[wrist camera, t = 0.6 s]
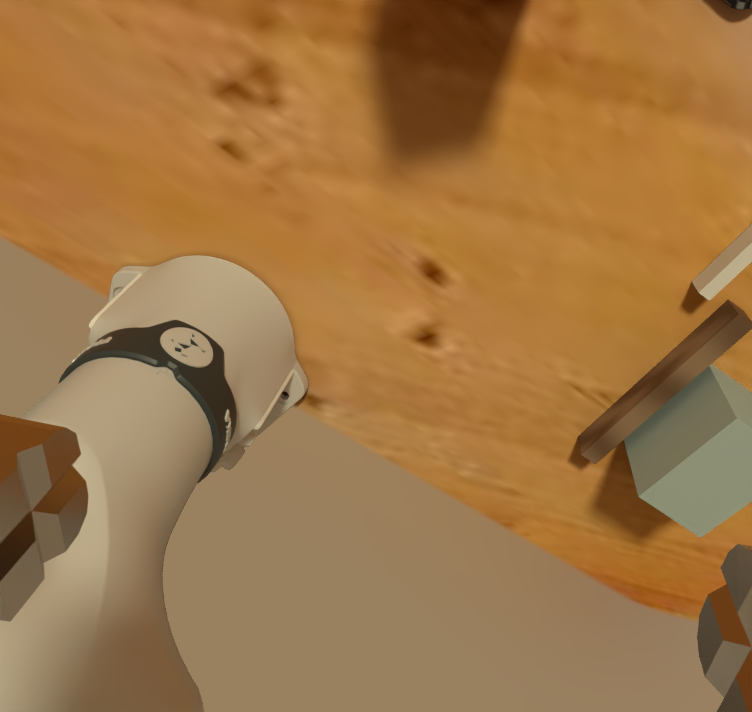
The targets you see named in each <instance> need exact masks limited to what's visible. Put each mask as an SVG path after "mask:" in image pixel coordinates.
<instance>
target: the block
mask: <svg viewBox="0 0 752 712" xmlns="http://www.w3.org/2000/svg"><path fill="white" fill-rule="evenodd" d="M624 443H625V447H626V451H627V455H628V459H629V463H630V466H631V470H632V474H633V478H634V482H635V486H636V490H637V494H638V497H639V498H641V499H642V500H644V501H645V502H647V503H649V504H650V505H652V506H653V507H655V508H656V509H658V510H659V511H661V512H662V513H664V514H665V515H667V516H668V517H670V518H671V519H673V520H674V521H676V522H677V523H679V524H680V525H682V526H683V527H685V528H686V529H688V530H689V531H691V532H692V533H694V534H696V535H697V536H699V537H700V538H701V537H702V536H704V535H705V534H706V533H708V532H709V531H711V530H712V529H713V528H715V527H716V526H718V525H719V524H721V523H722V522H723V521H725V520H726V519H728V518H729V517H730V516H732V515H733V514H735V513H736V512H737V511H739V510H740V509H742V508H743V507H745V506H746V505H747V504H749V503H750V502H752V392H750V391H749V390H748V389H746V388H745V387H743V386H742V385H741V384H739V383H738V382H736V381H735V380H734V379H732V378H731V377H729V376H728V375H727V374H725V373H724V372H722V371H721V370H720V369H718V368H717V367H715V366H714V365H712V364H711V365H709V366H708V367H707V368H706V369H705V370H704V371H702V372H701V373H700V374H699V375H698V376H697V377H696V378H694V379H693V380H692V381H691V382H690V383H689V384H687V385H686V386H685V387H684V388H683V389H682V390H681V391H679V392H678V393H677V394H676V395H675V396H674V397H672V398H671V399H670V400H669V401H668V402H667V403H666V404H664V405H663V406H662V407H661V408H660V409H659V410H657V411H656V412H655V413H654V414H653V415H652V416H651V417H649V418H648V419H647V420H646V421H645V422H644V423H642V424H641V425H640V426H639V427H638V428H637V429H636V430H634V431H633V432H632V433H631V434H630V435H629V436H627V437H626V438H625V439H624Z"/></svg>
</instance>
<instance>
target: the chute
mask: <svg viewBox="0 0 752 712" xmlns="http://www.w3.org/2000/svg"><path fill="white" fill-rule="evenodd" d="M751 329H752V322H751V320H750V319H749V317H748V316H747V315H746V313H745V312H744V311H743V310H742V309H741V308H739V307H738V306H736V305H735V304H734V303H732V302H731V301H730V300H727V301H726V302H725V303H724V304H723V305H722V306H721V307H720V308H718V309H717V310H716V311H715V312H714V313H713V314H712V315H711V316H710V317H709V318H708V319H706V320H705V321H704V322H703V323H702V324H701V325H700V326H699V327H698V328H697V329H696V330H694V331H693V332H692V333H691V334H690V335H689V336H688V337H687V338H686V339H685V340H683V341H682V342H681V343H680V344H679V345H678V346H677V347H676V348H675V349H674V350H673V351H671V352H670V353H669V354H668V355H667V356H666V357H665V358H664V359H663V360H662V361H660V362H659V363H658V364H657V365H656V366H655V367H654V368H653V369H652V370H651V371H650V372H648V373H647V374H646V375H645V376H644V377H643V378H642V379H641V380H640V381H639V382H638V383H636V384H635V385H634V386H633V387H632V388H631V389H630V390H629V391H628V392H627V393H625V394H624V395H623V396H622V397H621V398H620V399H619V400H618V401H617V402H616V403H615V404H613V405H612V406H611V407H610V408H609V409H608V410H607V411H606V412H605V413H604V414H602V415H601V416H600V417H599V418H598V419H597V420H596V421H595V422H594V423H593V424H592V425H590V426H589V427H588V428H587V429H586V430H585V431H584V432H583V433H582V434H581V435H580V436H578V439H579V445H580V452H581V455H582V456H583V457H585V458H587V459H588V460H590V461H591V462H593V463H594V464H596V463H597V462H599V461H600V460H601V459H602V458H603V457H604V456H606V455H607V454H608V453H609V452H610V451H611V450H612V449H614V448H615V447H616V446H617V445H618V444H619V443H621V442H622V441H623V440H624V439H625V438H626V437H627V436H629V435H630V434H631V433H632V432H633V431H634V430H636V429H637V428H638V427H639V426H640V425H641V424H642V423H644V422H645V421H646V420H647V419H648V418H649V417H651V416H652V415H653V414H654V413H655V412H656V411H657V410H659V409H660V408H661V407H662V406H663V405H664V404H666V403H667V402H668V401H669V400H670V399H671V398H672V397H674V396H675V395H676V394H677V393H678V392H679V391H681V390H682V389H683V388H684V387H685V386H686V385H687V384H689V383H690V382H691V381H692V380H693V379H694V378H696V377H697V376H698V375H699V374H700V373H701V372H702V371H704V370H705V369H706V368H707V367H708V366H709V365H711V364H712V363H713V362H714V361H715V360H716V359H717V358H719V357H720V356H721V355H722V354H723V353H724V352H726V351H727V350H728V349H729V348H730V347H731V346H732V345H734V344H735V343H736V342H737V341H738V340H739V339H741V338H742V337H743V336H744V335H745V334H746V333H747V332H749V331H750V330H751Z"/></svg>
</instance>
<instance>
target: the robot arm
mask: <svg viewBox="0 0 752 712" xmlns="http://www.w3.org/2000/svg"><path fill="white" fill-rule="evenodd" d="M89 328H90V329H91V332H90V335H89V340H88V347H86V348H85V349H84V350H83V351H82V352H81V353H80V354H79V355H78V356H77V357H76V358H75V359H74V360H73V361H72V364H71V365H70V366H69V367H68V368H67V369H66V370H65V372H64V374H63V375H62V376H61V378H60V381H59V384H58V385H57V386H56V387H55V388H54V389H52V390H51V391H50V392H49V393H48V394H47V395H46V396H45V397H43V398H42V399H41V400H40V401H39V402H38V403H37V404H36V405H35V406H33V407H32V408H31V409H30V410H29V411H28V412H27V413H26V414H24V415H23V416H22V417H21V418H16V417H11V416H6V415H0V712H204V708H203V703H202V699H201V696H200V692H199V689H198V687H197V685H196V683H195V682H194V680H193V679H192V677H191V675H190V674H189V672H188V670H187V668H186V666H185V664H184V662H183V660H182V659H181V656H180V654H179V652H178V649H177V646H176V644H175V641H174V639H173V636H172V633H171V629H170V626H169V622H168V619H167V613H166V608H165V604H164V595H163V585H162V572H163V561H164V554H165V550H166V546H167V543H168V540H169V537H170V535H171V533H172V530H173V528H174V526H175V524H176V522H177V519H178V517H179V516H180V514H181V512H182V510H183V508H184V506H185V504H186V502H187V500H188V498H189V496H190V494H191V493H192V491H193V489H194V487H195V486H196V484H197V483H199V482H200V481H201V480H202V479H204V478H205V477H206V476H207V475H208V474H209V473H210V472H214V471H216V470H218V469H219V468H220V467H222V466H223V467H224V468H225V469H228V470H230V469H231V468H233V467H234V466H235V465H236V463H237V462H238V461H239V460H240V458H241V457H242V456H243V454H244V452H245V450H244V447H248V446H249V445H250V444H251V443H252V442H253V441H254V440H255V438H256V437H257V436H258V435H259V434H260V433H261V432H263V431H264V430H265V429H266V428H267V427H268V426H269V425H271V424H272V423H273V422H274V421H275V420H276V419H278V418H279V417H280V416H281V415H282V414H283V413H285V412H286V411H287V410H288V409H289V408H291V407H292V406H293V405H294V404H295V403H296V402H298V401H299V400H300V399H301V398H302V397H303V396H304V394H305V393H306V392H307V390H308V381H307V378H306V376H305V374H304V372H303V370H302V368H301V366H300V365H299V363H298V361H297V358H296V354H295V344H294V335H293V330H292V326H291V323H290V320H289V318H288V315H287V313H286V311H285V309H284V308H283V306H282V304H281V303H280V301H279V300H278V298H277V297H276V296H275V294H274V293H273V292H272V291H271V290H270V289H269V288H268V287H267V286H266V285H265V284H264V283H263V282H262V281H261V280H260V279H259V278H257V277H256V276H255V275H253V274H252V273H250V272H249V271H247V270H246V269H244V268H242V267H240V266H238V265H236V264H234V263H232V262H229V261H226V260H223V259H220V258H215V257H210V256H199V255H194V256H184V257H179V258H175V259H172V260H170V261H167V262H165V263H162V264H160V265H157V266H153V267H145V266H126V267H122V268H120V269H119V270H118V271H117V272H116V273H115V275H114V276H113V278H112V282H111V288H110V293H109V299H108V304H107V305H106V306H105V307H104V308H103V309H102V310H101V311H100V312H99V313H98V314H97V315H96V316H95V317H94V318H93V319H92V321H91V322H90V324H89ZM283 391H284V392H287V393H288V394H289V395H284V394H283V393H282V392H283ZM721 570H722V572H723V575H724V578H725V580H726V583H727V584H726V585H724V586H723V587H721V588H719V589H717V590H715V591H714V592H712V593H710V594H708V596H707V598H706V601H705V603H704V605H703V608H702V610H701V613H700V616H699V626H698V636H697V640H698V649H699V657H700V661H701V664H702V668H703V671H704V675H705V677H706V678H707V679H708V680H709V682H710V683H711V684H712V685H713V686H714V687H715V688H716V689H717V690H718V691H719V692H720V693H721V694H722V696H723V697H724V699H723V701H722V703H721V705H720V707H719V709H718V710H717V712H752V546H747V545H741V544H737V545H736V546H735V547H734V548H733V549H732V550H731V551H729V552H728V554H727V556H726V558H725V560H724V562H723V564H722V566H721Z"/></svg>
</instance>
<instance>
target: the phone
mask: <svg viewBox="0 0 752 712" xmlns="http://www.w3.org/2000/svg"><path fill="white" fill-rule="evenodd" d="M723 1H724V2H725V3H726V4H727V5H729V6H730V7H732V8H736V9H742V10H744V9H750V8H752V0H723Z"/></svg>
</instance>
